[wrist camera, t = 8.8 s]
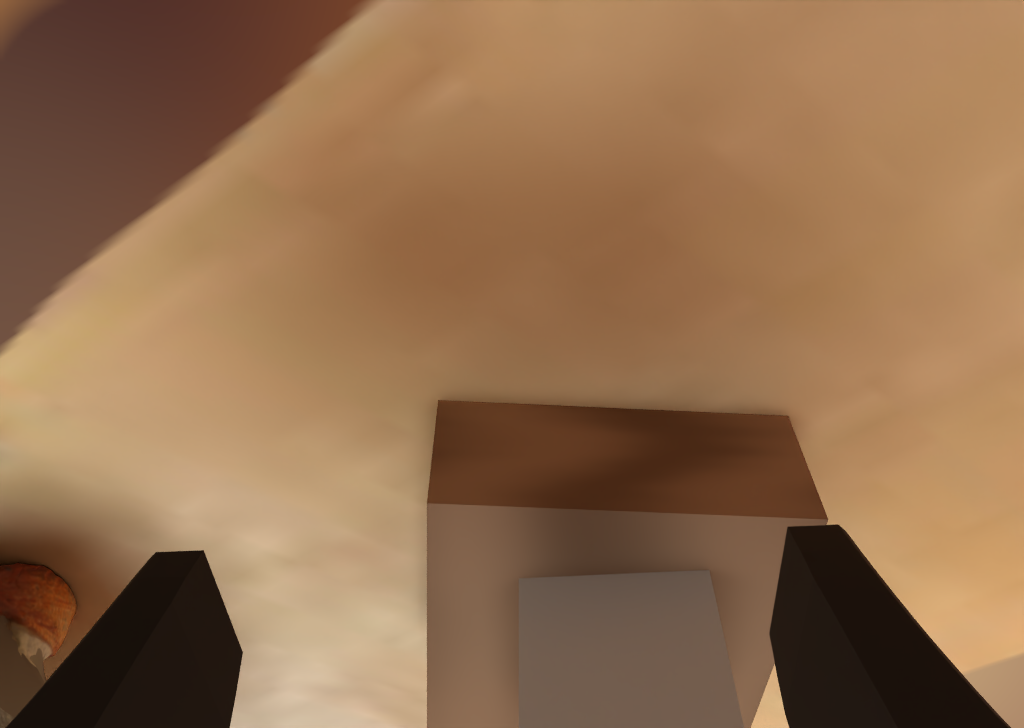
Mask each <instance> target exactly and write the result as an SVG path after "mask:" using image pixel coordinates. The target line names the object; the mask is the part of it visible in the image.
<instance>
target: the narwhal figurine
mask: <svg viewBox="0 0 1024 728" xmlns="http://www.w3.org/2000/svg"><path fill="white" fill-rule="evenodd" d="M76 608H77V606H76V600H75V598H74V595H73V593H72V592H71V589H70V588H69V587H68V585H67V584H66V583H65V581H64V580H63V579H62V578H60V577H58V576H56V575H55V574H54V572H52V571H51V570H50V569H48V568H46V567H45V566H41V565H38V566H35V565H29V564H20V563H19V562H18V563H16V564H14V565H0V728H5V727H6V726H7V725H8V724H9V723H10V722H11V721H12V720H13V719H14V718H15V717H16V715H17V714H18V713H19V712H20V711H21V710H22V709H23V708H24V707H25V705H26V704H27V703H28V702H29V701H30V700H31V699H32V697H33V696H34V695H35V694H36V693H37V692H38V690H39V689H40V688H41V687H42V686H43V685H44V684H45V682H46V678H45V674H44V664H43V661H44V660H45V659H46V658H48V657H51V656H54V655H55V654H56V652H57V651H58V649H59V648H60V646H61V645H62V643H63V641H64V639H65V636H66V635H67V631H68V627H69V625H70V623H71V621H72V618H73V616H74V614H75V613H76Z"/></svg>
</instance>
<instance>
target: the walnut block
mask: <svg viewBox="0 0 1024 728" xmlns="http://www.w3.org/2000/svg"><path fill="white" fill-rule="evenodd" d="M827 522H828V518H827V515H826V513H825V510H824V507H823V505H822V502H821V500H820V497H819V494H818V492H817V489H816V487H815V484H814V482H813V479H812V476H811V474H810V471H809V469H808V466H807V464H806V461H805V458H804V456H803V453H802V451H801V448H800V446H799V443H798V440H797V438H796V435H795V433H794V430H793V427H792V425H791V422H790V420H789V417H788V416H776V415H754V414H732V413H709V412H687V411H665V410H642V409H620V408H598V407H575V406H553V405H531V404H509V403H486V402H464V401H442V400H438V407H437V417H436V426H435V435H434V444H433V454H432V463H431V472H430V481H429V491H428V500H427V728H519V578H541V577H562V576H584V575H606V574H627V573H650V572H673V571H697V570H709V571H710V576H711V580H712V585H713V589H714V594H715V598H716V603H717V607H718V612H719V616H720V621H721V625H722V630H723V634H724V639H725V643H726V648H727V652H728V657H729V661H730V666H731V670H732V675H733V680H734V684H735V689H736V693H737V698H738V702H739V707H740V711H741V716H742V720H743V725H744V728H751V725H752V722H753V720H754V717H755V714H756V712H757V709H758V706H759V704H760V701H761V698H762V695H763V693H764V690H765V687H766V685H767V682H768V679H769V677H770V674H771V671H772V669H773V666H774V663H775V661H774V656H773V651H772V645H771V640H770V635H769V632H770V626H771V620H772V614H773V608H774V602H775V596H776V591H777V585H778V579H779V573H780V567H781V561H782V555H783V550H784V544H785V538H786V532H787V527H791V526H816V525H826V524H827Z"/></svg>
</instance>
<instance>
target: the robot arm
mask: <svg viewBox="0 0 1024 728" xmlns="http://www.w3.org/2000/svg"><path fill="white" fill-rule="evenodd" d="M769 635H770V640H771V645H772V651H773V656H774V661H775V666H776V672H777V677H778V682H779V686H780V691H781V696H782V701H783V705H784V710H785V715H786V718H787V721H788V725H789V728H1011V727H1010V726H1009V725H1008V724H1007V723H1006V722H1005V721H1004V720H1003V719H1002V718H1001V717H1000V716H999V715H998V714H997V713H996V711H995V710H994V709H993V708H992V707H991V706H990V705H989V704H988V703H987V702H986V700H985V699H984V698H983V697H982V696H981V695H980V694H979V693H978V692H977V691H976V690H975V688H974V687H973V686H972V685H971V684H970V683H969V682H968V680H967V679H966V678H965V677H964V676H963V675H962V674H961V672H960V671H959V670H958V669H957V668H956V667H955V666H954V664H953V663H952V662H951V661H950V660H949V659H948V658H947V656H946V655H945V654H944V653H943V652H942V651H941V650H940V648H939V647H938V646H937V645H936V644H935V643H934V642H933V640H932V639H931V638H930V637H929V636H928V634H927V633H926V632H925V631H924V630H923V628H922V627H921V626H920V625H919V624H918V622H917V621H916V620H915V619H914V618H913V616H912V615H911V614H910V613H909V611H908V610H907V609H906V608H905V606H904V605H903V604H902V603H901V602H900V600H899V599H898V598H897V597H896V595H895V594H894V593H893V592H892V590H891V589H890V588H889V587H888V585H887V584H886V583H885V582H884V580H883V579H882V578H881V577H880V575H879V574H878V573H877V571H876V570H875V569H874V568H873V566H872V565H871V564H870V562H869V561H868V560H867V558H866V557H865V556H864V555H863V553H862V552H861V551H860V549H859V548H858V547H857V545H856V544H855V543H854V541H853V540H852V539H851V537H850V536H849V535H848V534H847V532H846V531H845V530H844V529H843V528H842V527H840V526H839V525H816V526H791V527H787V532H786V538H785V544H784V550H783V555H782V561H781V567H780V573H779V579H778V585H777V591H776V596H775V602H774V608H773V614H772V620H771V626H770V632H769ZM242 654H243V652H242V649H241V647H240V644H239V642H238V639H237V636H236V634H235V631H234V628H233V626H232V623H231V621H230V618H229V615H228V613H227V610H226V608H225V605H224V602H223V600H222V597H221V595H220V592H219V589H218V587H217V584H216V582H215V579H214V576H213V574H212V571H211V569H210V566H209V563H208V561H207V558H206V555H205V553H204V550H202V551H178V552H156V553H155V554H154V555H153V556H152V557H151V558H150V559H149V560H148V561H147V563H146V564H145V565H144V566H143V567H142V568H141V570H140V571H139V572H138V573H137V574H136V576H135V577H134V578H133V579H132V580H131V582H130V583H129V584H128V585H127V586H126V588H125V589H124V590H123V591H122V592H121V594H120V595H119V596H118V597H117V598H116V600H115V601H114V602H113V603H112V604H111V606H110V607H109V608H108V609H107V611H106V612H105V613H104V614H103V615H102V617H101V618H100V619H99V620H98V621H97V623H96V624H95V625H94V626H93V627H92V629H91V630H90V631H89V632H88V633H87V635H86V636H85V637H84V638H83V639H82V640H81V642H80V643H79V644H78V645H77V646H76V648H75V649H74V650H73V651H72V652H71V654H70V655H69V656H68V657H67V658H66V659H65V661H64V662H63V663H62V664H61V665H60V666H59V667H58V669H57V670H56V671H55V672H54V673H53V674H52V675H51V677H50V678H49V679H48V680H47V681H46V682H45V684H44V685H43V686H42V687H41V688H40V689H39V690H38V692H37V693H36V694H35V695H34V696H33V697H32V699H31V700H30V701H29V702H28V703H27V704H26V705H25V707H24V708H23V709H22V710H21V711H20V712H19V713H18V714H17V715H16V717H15V718H14V719H13V720H12V721H11V722H10V723H9V724H8V725H7V726H6V727H5V728H230V722H231V717H232V712H233V707H234V701H235V696H236V690H237V684H238V678H239V672H240V666H241V660H242Z"/></svg>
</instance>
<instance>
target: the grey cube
mask: <svg viewBox="0 0 1024 728" xmlns="http://www.w3.org/2000/svg"><path fill="white" fill-rule="evenodd" d="M519 728H744V725H743V720H742V716H741V711H740V707H739V702H738V698H737V693H736V689H735V684H734V680H733V675H732V670H731V666H730V661H729V657H728V652H727V648H726V643H725V639H724V634H723V630H722V625H721V621H720V616H719V612H718V607H717V603H716V598H715V594H714V589H713V585H712V580H711V576H710V571H709V570H697V571H673V572H650V573H627V574H606V575H584V576H562V577H541V578H519Z"/></svg>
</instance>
